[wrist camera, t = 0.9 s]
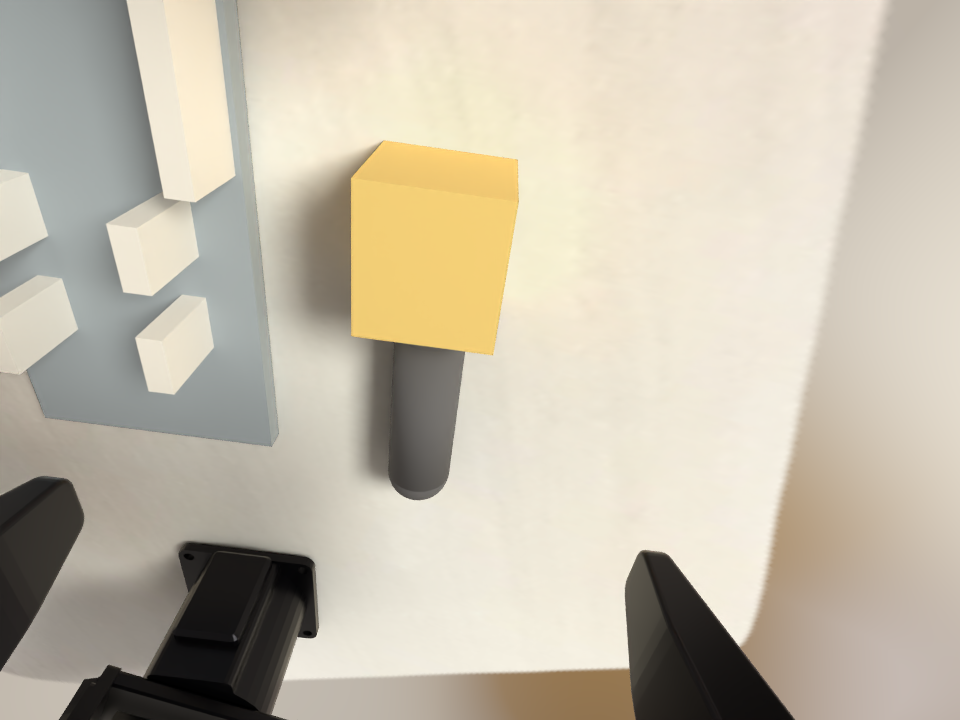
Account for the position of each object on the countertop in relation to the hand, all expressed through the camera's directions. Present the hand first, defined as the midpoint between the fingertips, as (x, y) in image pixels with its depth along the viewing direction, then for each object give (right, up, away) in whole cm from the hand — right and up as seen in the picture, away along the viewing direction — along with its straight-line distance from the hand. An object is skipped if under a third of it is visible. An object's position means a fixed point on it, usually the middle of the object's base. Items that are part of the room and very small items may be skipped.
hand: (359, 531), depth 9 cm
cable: (0, +3, +11) cm, 12 cm away
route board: (-10, +8, +9) cm, 15 cm away
